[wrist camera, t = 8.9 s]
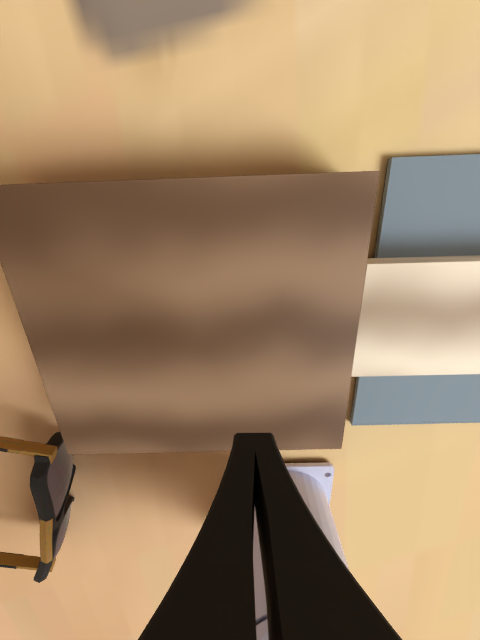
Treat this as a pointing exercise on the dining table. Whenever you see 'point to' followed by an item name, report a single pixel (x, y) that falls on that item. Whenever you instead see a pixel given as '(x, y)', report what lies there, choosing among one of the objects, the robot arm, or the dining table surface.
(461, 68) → the dining table surface
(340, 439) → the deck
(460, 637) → the dining table surface
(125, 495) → the dining table surface
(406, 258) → the cream rectangular block
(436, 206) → the mat
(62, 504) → the sunglasses
